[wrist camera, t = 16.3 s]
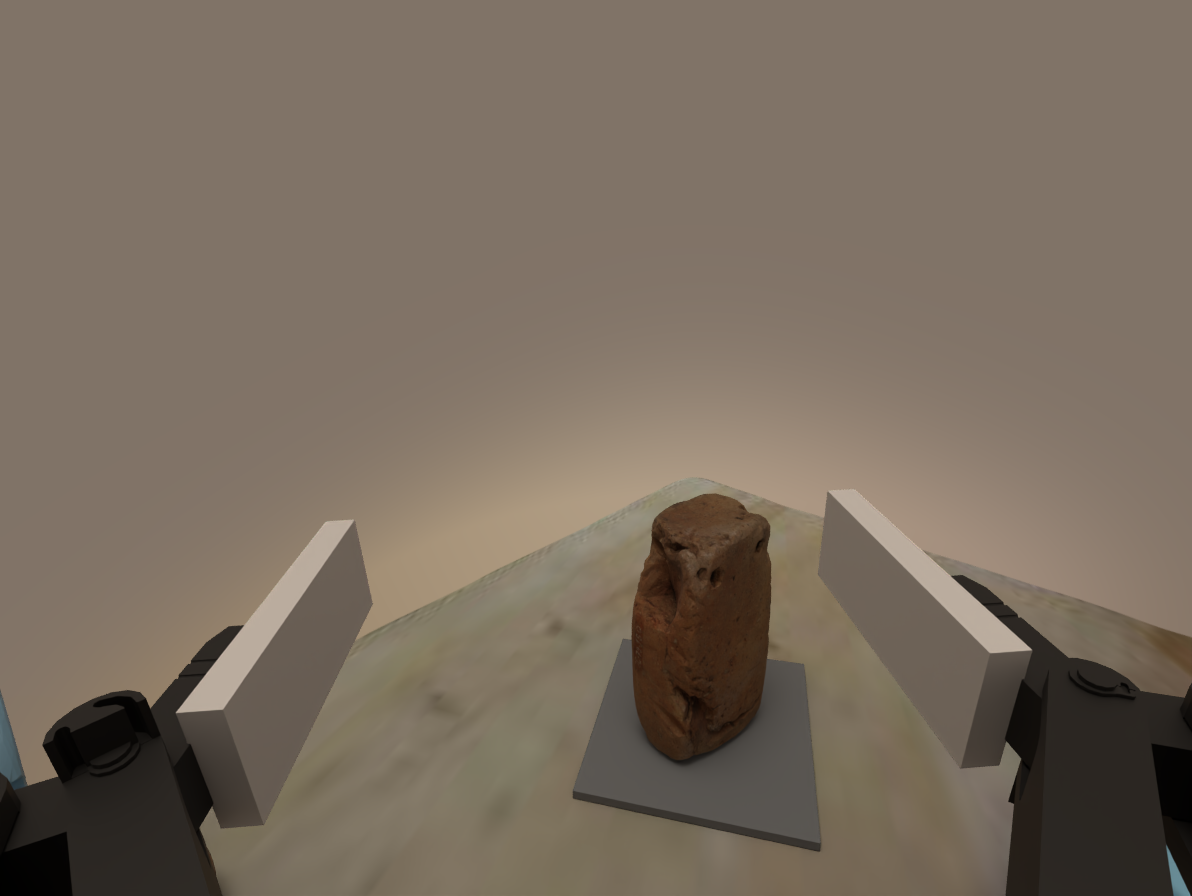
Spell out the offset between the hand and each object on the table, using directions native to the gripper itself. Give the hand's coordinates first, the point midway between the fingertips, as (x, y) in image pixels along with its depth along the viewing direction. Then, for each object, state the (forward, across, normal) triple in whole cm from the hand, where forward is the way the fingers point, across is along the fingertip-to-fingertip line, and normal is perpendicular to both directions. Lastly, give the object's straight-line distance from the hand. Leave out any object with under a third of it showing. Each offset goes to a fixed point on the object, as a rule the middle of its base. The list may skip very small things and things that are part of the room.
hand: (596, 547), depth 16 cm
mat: (+24, +9, -33) cm, 42 cm away
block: (+24, +9, -33) cm, 41 cm away
